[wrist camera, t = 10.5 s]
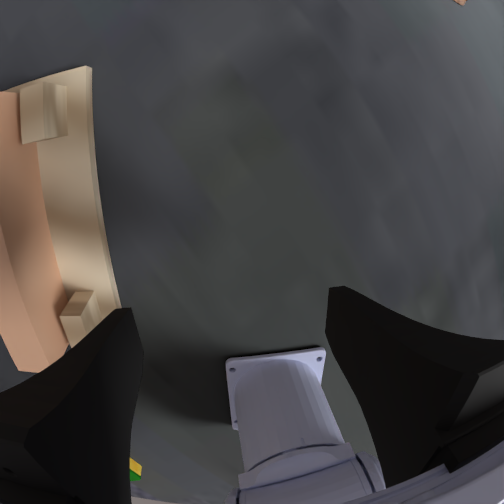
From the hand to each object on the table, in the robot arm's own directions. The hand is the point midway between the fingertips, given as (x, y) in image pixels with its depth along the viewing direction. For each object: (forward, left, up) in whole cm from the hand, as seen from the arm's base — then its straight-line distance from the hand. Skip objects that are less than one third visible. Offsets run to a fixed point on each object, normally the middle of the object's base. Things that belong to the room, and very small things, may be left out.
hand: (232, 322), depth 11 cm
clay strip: (+2, +12, -8) cm, 15 cm away
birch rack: (+2, +12, -9) cm, 16 cm away
